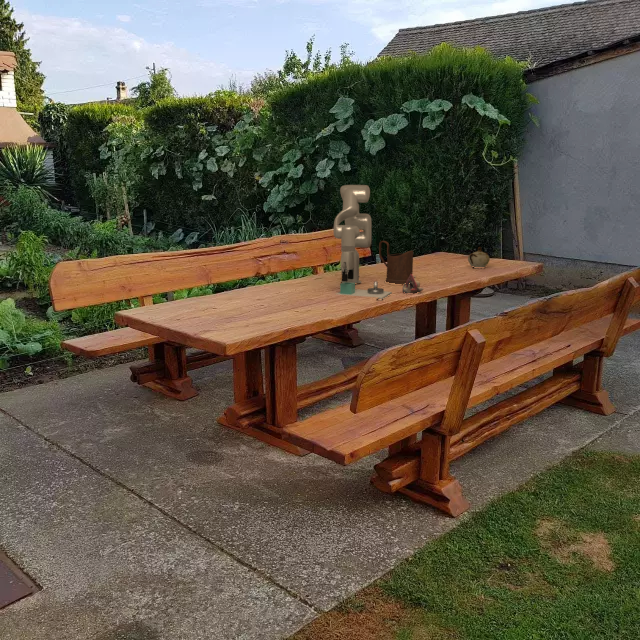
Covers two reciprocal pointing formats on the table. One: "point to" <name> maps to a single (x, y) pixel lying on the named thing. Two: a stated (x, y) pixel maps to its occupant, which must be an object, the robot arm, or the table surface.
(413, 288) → the brake caliper
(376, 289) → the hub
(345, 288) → the collar
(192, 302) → the table surface
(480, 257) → the sugar bowl
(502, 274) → the table surface
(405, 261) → the brown pitcher
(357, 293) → the board
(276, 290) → the table surface
